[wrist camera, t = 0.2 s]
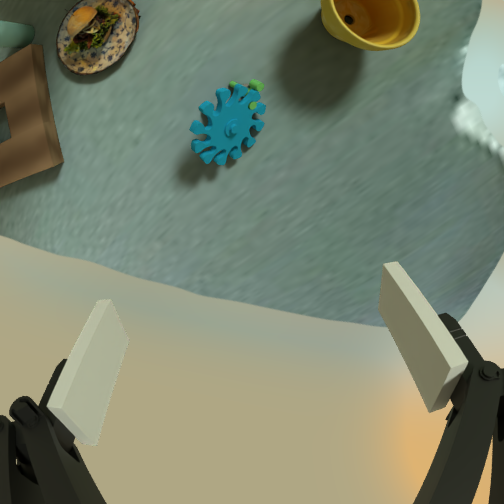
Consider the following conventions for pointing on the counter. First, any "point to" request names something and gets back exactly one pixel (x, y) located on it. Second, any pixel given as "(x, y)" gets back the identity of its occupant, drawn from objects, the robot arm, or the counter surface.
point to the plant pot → (372, 22)
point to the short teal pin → (15, 34)
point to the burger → (96, 34)
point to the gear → (229, 122)
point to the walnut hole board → (27, 117)
